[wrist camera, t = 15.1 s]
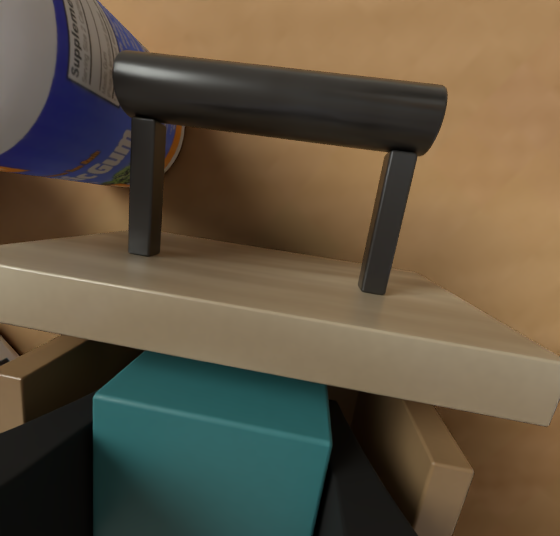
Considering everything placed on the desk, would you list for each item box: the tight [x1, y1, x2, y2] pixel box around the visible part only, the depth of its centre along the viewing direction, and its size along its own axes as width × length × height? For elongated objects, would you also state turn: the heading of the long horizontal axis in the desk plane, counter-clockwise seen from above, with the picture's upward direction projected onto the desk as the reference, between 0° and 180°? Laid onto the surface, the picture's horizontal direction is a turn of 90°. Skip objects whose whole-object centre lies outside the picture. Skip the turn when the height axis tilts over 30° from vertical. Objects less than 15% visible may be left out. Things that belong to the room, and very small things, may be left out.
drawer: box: [0, 50, 560, 536], centre depth 9 cm, size 18×11×7 cm, turn 172°
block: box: [93, 350, 333, 536], centre depth 8 cm, size 4×4×4 cm
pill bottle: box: [0, 0, 185, 187], centre depth 7 cm, size 5×5×10 cm
